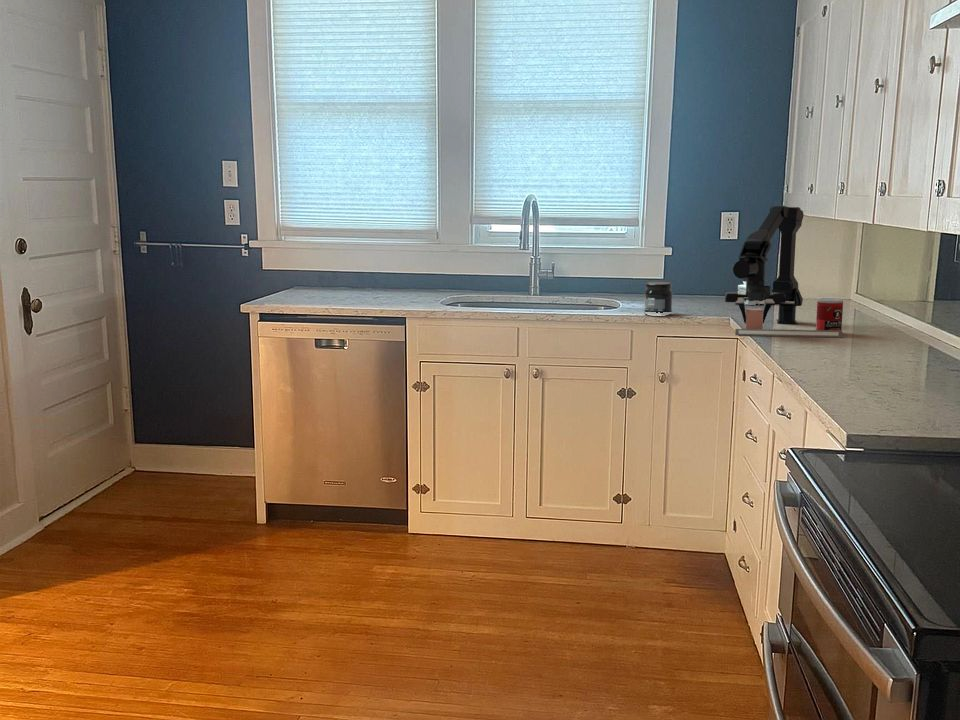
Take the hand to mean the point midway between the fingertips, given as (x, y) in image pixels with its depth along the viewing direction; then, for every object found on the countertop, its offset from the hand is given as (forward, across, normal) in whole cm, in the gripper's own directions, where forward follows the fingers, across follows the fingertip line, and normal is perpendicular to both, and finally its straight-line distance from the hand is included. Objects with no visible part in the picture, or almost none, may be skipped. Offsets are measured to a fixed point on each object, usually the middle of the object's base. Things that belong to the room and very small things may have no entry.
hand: (753, 323), depth 291 cm
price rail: (+3, +10, -8) cm, 13 cm away
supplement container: (+3, -33, +37) cm, 50 cm away
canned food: (+3, +23, -1) cm, 23 cm away
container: (+3, +2, +72) cm, 72 cm away
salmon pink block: (+2, 0, 0) cm, 2 cm away
